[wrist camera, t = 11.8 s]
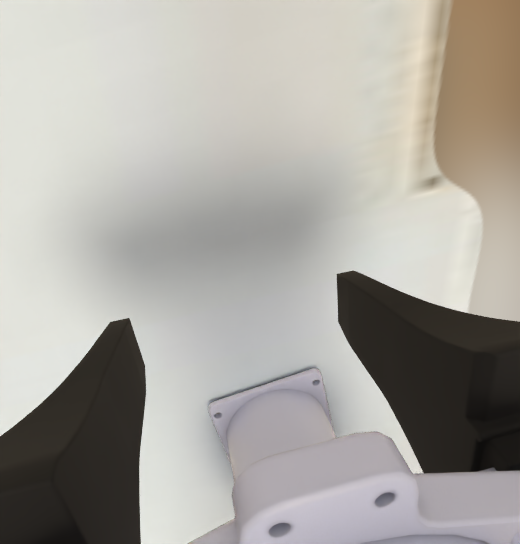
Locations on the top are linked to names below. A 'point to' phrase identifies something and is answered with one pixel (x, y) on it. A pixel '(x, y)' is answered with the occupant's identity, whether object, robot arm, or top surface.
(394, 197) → the top surface
